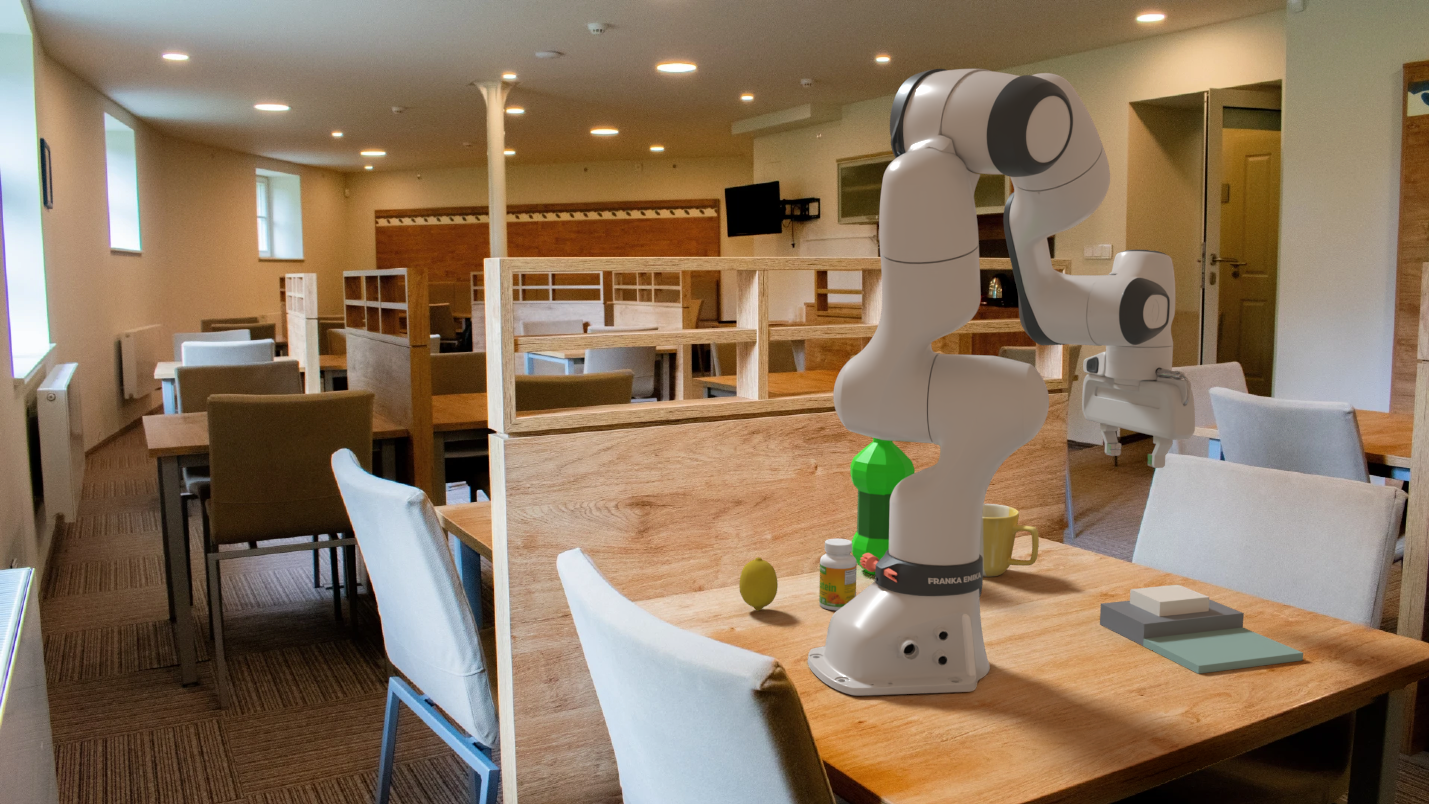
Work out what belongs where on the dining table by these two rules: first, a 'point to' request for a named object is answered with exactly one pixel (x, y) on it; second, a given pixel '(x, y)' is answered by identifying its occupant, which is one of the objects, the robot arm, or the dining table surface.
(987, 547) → the mug
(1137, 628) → the plate
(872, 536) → the plastic bottle
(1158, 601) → the tile
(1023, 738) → the dining table surface
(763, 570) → the lemon
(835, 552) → the supplement bottle
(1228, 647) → the mat
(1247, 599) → the dining table surface
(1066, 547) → the dining table surface
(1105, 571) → the dining table surface
